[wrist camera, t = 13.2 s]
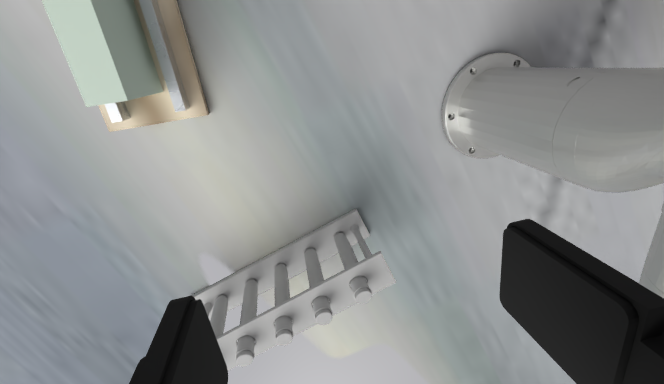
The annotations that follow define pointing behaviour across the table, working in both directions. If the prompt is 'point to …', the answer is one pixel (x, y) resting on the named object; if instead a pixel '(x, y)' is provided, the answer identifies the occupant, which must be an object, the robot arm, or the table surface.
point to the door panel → (104, 49)
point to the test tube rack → (297, 310)
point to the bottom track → (162, 73)
